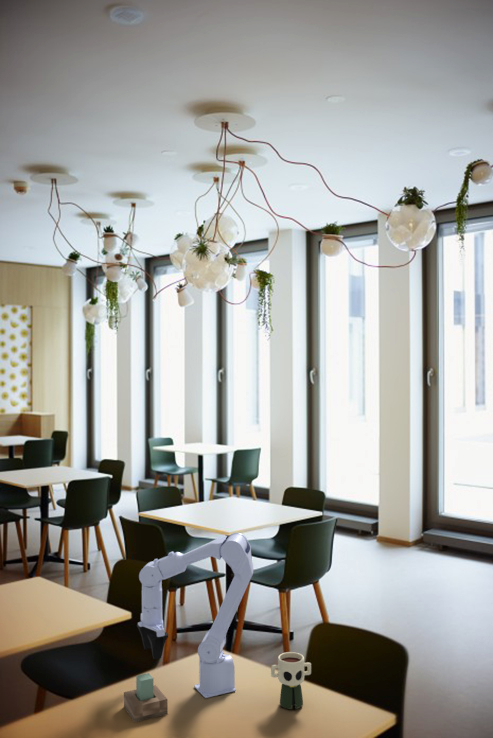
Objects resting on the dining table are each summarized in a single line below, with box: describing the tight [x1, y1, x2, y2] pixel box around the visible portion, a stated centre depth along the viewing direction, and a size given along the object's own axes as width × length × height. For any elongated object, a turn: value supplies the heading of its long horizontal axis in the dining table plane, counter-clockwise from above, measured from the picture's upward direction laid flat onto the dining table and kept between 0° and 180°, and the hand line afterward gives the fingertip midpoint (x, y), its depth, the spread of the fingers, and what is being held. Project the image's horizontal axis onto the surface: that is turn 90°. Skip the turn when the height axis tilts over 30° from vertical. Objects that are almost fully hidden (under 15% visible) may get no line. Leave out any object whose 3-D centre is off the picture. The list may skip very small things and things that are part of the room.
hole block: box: [123, 684, 169, 723], centre depth 192 cm, size 9×9×4 cm
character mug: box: [270, 651, 312, 710], centre depth 194 cm, size 11×7×13 cm, turn 98°
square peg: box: [135, 672, 154, 701], centre depth 192 cm, size 4×4×8 cm
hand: (152, 653), depth 206 cm, fingers open, 7 cm apart
